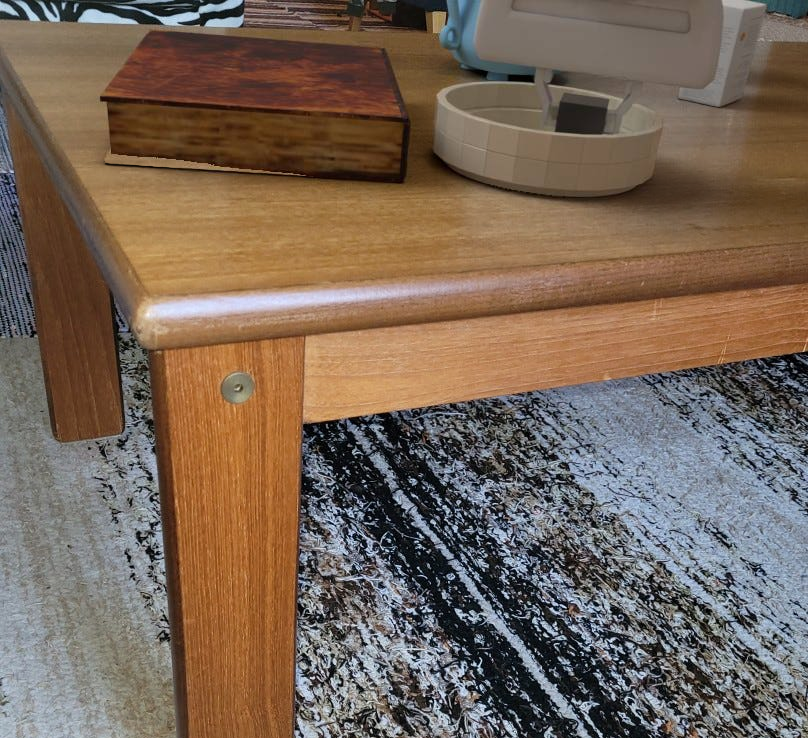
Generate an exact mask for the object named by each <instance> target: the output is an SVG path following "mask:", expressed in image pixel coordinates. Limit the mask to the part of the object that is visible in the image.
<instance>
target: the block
mask: <svg viewBox="0 0 808 738" xmlns="http://www.w3.org/2000/svg"><path fill="white" fill-rule="evenodd" d="M608 105H609V99H606V98H599V97H592V96H585V95H578V94H571V93H564V94H563V96H562V98H561V100H560V103H559V109H558V115H557V121H556V126H555V132H558V133H570V134H583V135H603V134H602V133H603V127H604V123H605V117H606V112H607V109H608Z"/></svg>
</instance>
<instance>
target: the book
mask: <svg viewBox="0 0 808 738" xmlns="http://www.w3.org/2000/svg"><path fill="white" fill-rule="evenodd" d="M99 101H100V103H101V102H103V103H106V109H107V111H106V112H107V121H108V134H109V148H110V147H111V154H118V155H127V156H137V157H156V158H157V157H158V158H166V159H176V160H184V161H191V162H197V163H208V164H211V165H213V164H214V166H220V167H230V168H239V169H251V170H263V171H270V172H282V173H293V174H300V175H306V176H313V177H312V178H316V177H320V178H319V179H332V180H333V179H335V180H348V181H349V180H350V181H363V182H365V181H366V182H379V183H383V182H384V183H395V184H397V183H398V182H400V184H404V182H405V179H406V178H407V171H408V159H409V148H410V147H409V146H410V138H411V137H410V136H411V126H412V125H411V123H412V121H411V119H410V116H409V113H408V110H407V107H406V104H405V101H404V98H403V96H402V92H401V90H400V86H399V84H398V80H397V77H396V75H395V71H394V69H393V66H392V63H391V60H390V58H389V55H388V51H387V49H386V48H385V47H382V48H381V47H377V46H368V45H367V46H365V45H353V44H341V43H340V44H339V43H329V42H328V43H326V42H314V41H301V40H289V39H288V40H287V39H277V38H276V39H275V38H265V37H264V38H263V37H251V36H250V37H249V36H240V35H239V36H238V35H224V34H214V33H200V32H189V31H177V30H175V31H174V30H162V29H149V30H148V31H147V32H146V34H145V35H144V37H143V38H142V39H141V41H140V42H139V43H138V45H137V46H136V47H135V48H134V50H133V51H132V52H131V54H130V55H129V56H128V57H127V59H126V61H125V62H124V63H123V65H122V66H121V67H120V69H119V70H118V71H117V73H116V74H115V75H114V77H113V78H112V79H111V80H110V82H109V83H108V85H107V86H106V87H105V89H104V90H103V91H102V92H101V94H100V95H99Z"/></svg>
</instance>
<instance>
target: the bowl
mask: <svg viewBox="0 0 808 738" xmlns="http://www.w3.org/2000/svg"><path fill="white" fill-rule="evenodd" d="M547 84H548V87H549V90H550V93H551V96H552V99H553V101H555V102H560V100H561V98H562V96H563V94H564V93H571V94H578V95H585V96H592V97H599V98H606V99H609V105H608V109H611V110H616V109H617V108H618V107H619V105H620V104H621V103H622V102H623V100H624V99H625V98H623V97H618V96H614V95H610V94H606V93H602V92H597V91H593V90H587V89H581V88H577V87H569V86H563V85H555V84H550V83H547ZM542 111H543V104H542V102H541V99H540V96H539V94H538V91H537V88H536V85H535V83H534V82H526V81H525V82H524V81H493V80H490V81H474V82H472V81H471V82H466V83H457V84H454V85H450V86H447V87H444V88H442V89H440V91H438V93H436V97H435V107H434V116H433V117H434V118H433V126H432V127H433V128H432V138H431V147H432V151H433V153H434V154H435V155H436V156H437V157H439V159H441V160H442V161H443V163H444V164H445V165H446V166H447V167H448V168H450V169H451V170H452V171H454V172H456V173H458V174H459V175H461V176H464V177H466V178H468V179H470V180H473V181H476V182H478V183H482V184H486V185H489V184H490V186H493V185H495V186H494V187H496V186H498V187H497V188H500V187H503V188H502V189H505V188H507V189H506V190H509V189H511V191H514V190H517V191H516V192H520V191H525V192H524V193H526V192H532V193H531V194H533V193H538V194H537V195H540V194H545V195H544V196H550V195H552V196H551V197H563V196H565V197H566V198H595V197H606V196H612V195H617V194H622V193H625V192H628V191H631V190H632V189H635V188H636V187H637V186H638V185H642V184H644V183H645V182H647V181H648V180H650V179H651V178H652V177H653V174H654V170H655V166H656V160H657V156H658V152H659V147H660V142H661V139H662V134H663V129H664V119H663V118H662V117H661V115H660V114H658V112H656V111H653V110H651V109H650V108H648V107H646V106H644V105H641V104H639V103H636V102H635V103H634V104H633V105H632V106H631V108H630V109H629V110H628V111H627V113H626V114H625V115H623V116H622V121H621V126H620V131H619V134H613V135H606V134H603V135H583V134H570V133H558V132H555V127H551V126H543V125H541V117H542Z"/></svg>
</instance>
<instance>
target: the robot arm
mask: <svg viewBox="0 0 808 738" xmlns="http://www.w3.org/2000/svg"><path fill="white" fill-rule="evenodd" d="M723 21H724V10H723V3H722V0H481V4H480V8H479V13H478V17H477V22H476V27H475V33H474V40H473V47H474V49H475V51H476V53H477V55H478V56H479V58H480V59H482V60H488V61H495V62H503V63H510V64H517V65H524V66H532V67H536V72H535V78H534V79H533V83H535V85H536V88H537V91H538V94H539V96H540V99H541V102H542V104H543V111H542V117H541V125H543V126H551V127H555V126H556V121H557V115H558V109H559V103H560V102H555V101H553V99H552V96H551V93H550V90H549V87H548V84H550V83H551V81H553V79H554V75H555V74H554V70H561V71H563V72H570V73H575V74H583V75H590V76H598V77H605V78H606V77H607V78H612V79H621V80H625V84H624V89H623V93H624V95H625V94H626V96H625V98H623V99H624V100H623V102H622V103H621V104H620V105H619V107H618V108H617V109H616V110H611V109H607V112H606V117H605V123H604V127H603V133H602V134H606V135H613V134H619V131H620V126H621V121H622V116H623V115H625V114H626V113H627V111H628V110H629V109H630V108H631V106H632V105H633V104H634V103H636V102H637V100H639V98H640V97H641V92H642V88H643V83H649V84H657V85H665V86H669V87H670V86H671V87H678V88H680V87H685V88H692V89H704V88H705V87H706V86H708V85H709V84H710V83H711V82H712V81H713V80H714V78H715V75H716V71H717V67H718V61H719V56H720V50H721V42H722V34H723Z"/></svg>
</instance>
